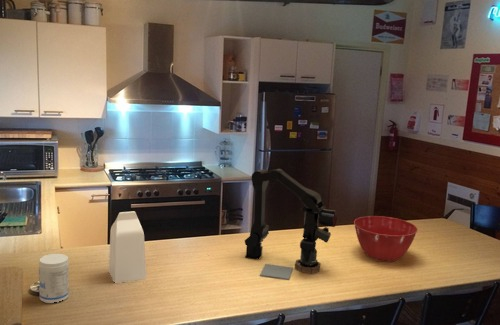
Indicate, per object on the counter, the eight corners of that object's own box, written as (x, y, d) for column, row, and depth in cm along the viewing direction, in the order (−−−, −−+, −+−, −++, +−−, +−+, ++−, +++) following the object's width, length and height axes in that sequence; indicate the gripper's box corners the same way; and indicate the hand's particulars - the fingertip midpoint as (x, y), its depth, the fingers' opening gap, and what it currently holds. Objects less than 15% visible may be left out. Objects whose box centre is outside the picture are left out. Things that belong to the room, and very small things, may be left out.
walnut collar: (293, 271, 200) (294, 264, 200) (296, 262, 210) (297, 255, 210) (318, 275, 198) (319, 267, 197) (320, 265, 208) (321, 258, 207)
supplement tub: (34, 297, 167) (33, 257, 164) (60, 289, 174) (59, 251, 172) (48, 307, 161) (47, 266, 158) (74, 298, 168) (73, 258, 165)
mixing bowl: (377, 271, 205) (380, 237, 202) (339, 248, 230) (341, 218, 228) (427, 264, 216) (431, 231, 214) (385, 243, 242) (388, 213, 239)
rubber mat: (259, 276, 194) (259, 274, 194) (265, 265, 206) (265, 263, 206) (288, 280, 192) (289, 278, 192) (292, 268, 203) (293, 267, 203)
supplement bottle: (314, 273, 200) (317, 245, 198) (298, 271, 201) (300, 243, 199) (316, 266, 207) (318, 240, 205) (300, 264, 208) (302, 238, 206)
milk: (114, 284, 181) (114, 218, 176) (108, 272, 191) (108, 209, 186) (146, 279, 186) (146, 215, 182) (138, 268, 196) (139, 207, 192)
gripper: (328, 231, 190) (325, 268, 193) (331, 218, 208) (328, 252, 210) (301, 228, 192) (298, 264, 195) (306, 215, 210) (303, 249, 213)
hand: (308, 257), depth 203 cm, fingers open, 9 cm apart
